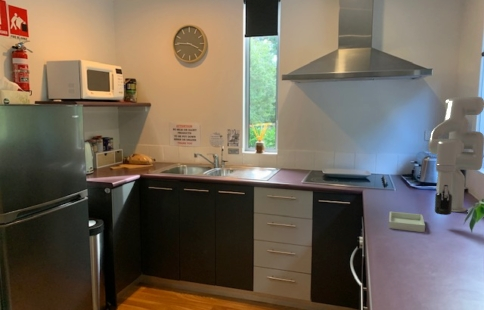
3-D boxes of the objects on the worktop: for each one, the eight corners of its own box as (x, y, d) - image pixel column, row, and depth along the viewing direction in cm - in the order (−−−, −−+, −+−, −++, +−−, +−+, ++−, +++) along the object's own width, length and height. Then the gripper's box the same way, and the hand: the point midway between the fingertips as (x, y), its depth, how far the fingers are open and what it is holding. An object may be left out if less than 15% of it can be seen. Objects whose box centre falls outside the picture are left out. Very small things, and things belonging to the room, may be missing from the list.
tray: (389, 217, 182) (389, 211, 182) (421, 220, 176) (422, 214, 176) (388, 228, 166) (389, 221, 165) (424, 232, 160) (424, 225, 160)
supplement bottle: (436, 209, 172) (437, 185, 170) (452, 212, 168) (454, 187, 166) (432, 213, 167) (434, 187, 165) (449, 216, 162) (451, 190, 161)
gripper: (434, 164, 173) (432, 200, 176) (438, 171, 157) (435, 211, 160) (452, 165, 170) (449, 202, 173) (458, 172, 155) (455, 212, 157)
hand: (443, 206), depth 167 cm, fingers closed on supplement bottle, 6 cm apart
